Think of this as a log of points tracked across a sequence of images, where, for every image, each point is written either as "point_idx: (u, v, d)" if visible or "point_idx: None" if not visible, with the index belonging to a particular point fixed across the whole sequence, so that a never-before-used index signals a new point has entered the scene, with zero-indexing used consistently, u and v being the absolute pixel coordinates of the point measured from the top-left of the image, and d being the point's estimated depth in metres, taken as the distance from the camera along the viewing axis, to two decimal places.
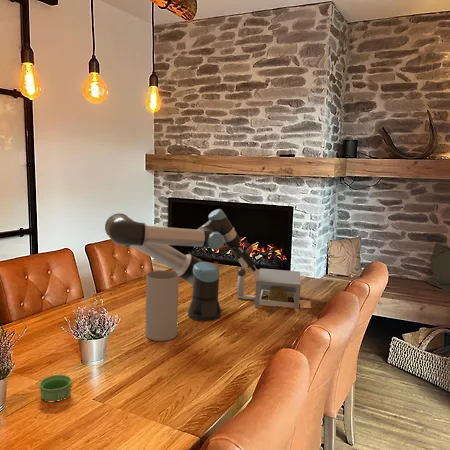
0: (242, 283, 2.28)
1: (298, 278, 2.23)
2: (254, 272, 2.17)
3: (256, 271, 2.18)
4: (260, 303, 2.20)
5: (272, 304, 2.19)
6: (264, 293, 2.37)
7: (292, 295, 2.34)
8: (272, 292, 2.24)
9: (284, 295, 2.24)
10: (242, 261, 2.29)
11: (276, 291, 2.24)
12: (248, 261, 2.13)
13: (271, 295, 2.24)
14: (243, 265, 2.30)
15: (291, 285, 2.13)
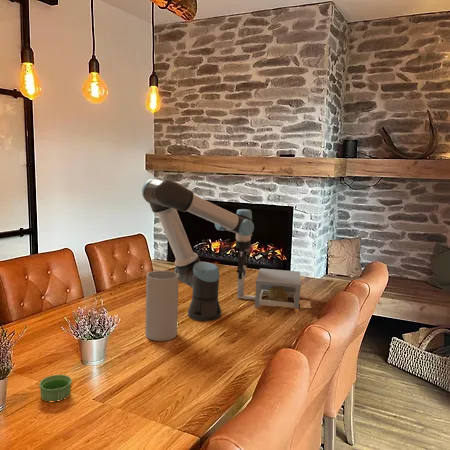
0: None
1: (298, 278, 2.23)
2: (239, 280, 2.22)
3: (241, 281, 2.22)
4: (260, 303, 2.20)
5: (272, 304, 2.19)
6: (264, 293, 2.37)
7: (292, 295, 2.34)
8: (272, 292, 2.24)
9: (284, 295, 2.24)
10: None
11: (276, 291, 2.24)
12: (239, 266, 2.19)
13: (271, 295, 2.24)
14: None
15: (291, 285, 2.13)
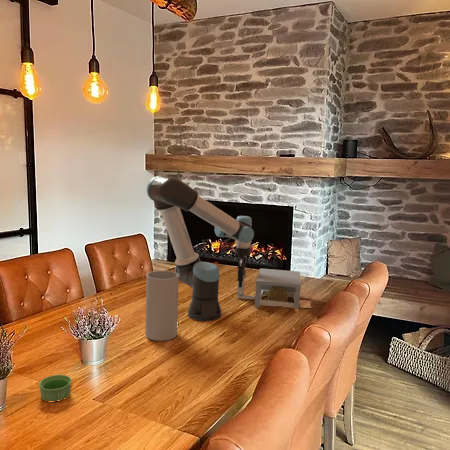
0: None
1: (298, 278, 2.23)
2: (239, 288, 2.27)
3: (241, 289, 2.27)
4: (260, 303, 2.20)
5: (272, 304, 2.19)
6: (264, 293, 2.37)
7: (292, 295, 2.34)
8: (272, 292, 2.24)
9: (284, 295, 2.24)
10: None
11: (276, 291, 2.24)
12: (239, 275, 2.23)
13: (271, 295, 2.24)
14: None
15: (291, 285, 2.13)
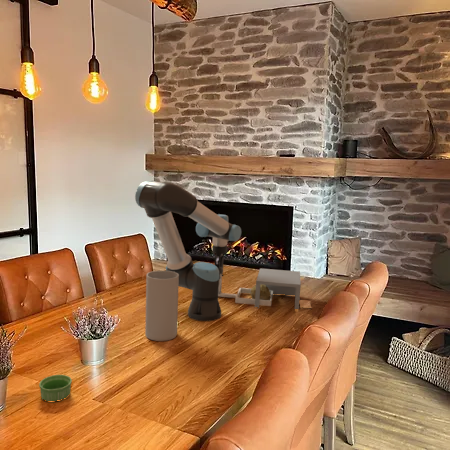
0: None
1: (298, 278, 2.23)
2: None
3: (218, 287, 2.29)
4: (236, 301, 2.22)
5: (248, 302, 2.21)
6: (242, 291, 2.38)
7: (270, 293, 2.36)
8: (254, 290, 2.26)
9: (266, 293, 2.25)
10: None
11: None
12: None
13: (253, 293, 2.26)
14: None
15: (291, 285, 2.13)
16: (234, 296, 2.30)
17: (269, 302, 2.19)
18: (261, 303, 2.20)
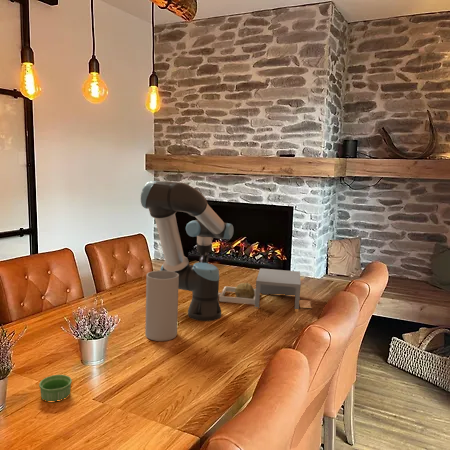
0: None
1: (298, 278, 2.23)
2: None
3: None
4: (220, 299, 2.23)
5: (232, 300, 2.22)
6: (227, 290, 2.39)
7: (254, 292, 2.37)
8: (238, 289, 2.27)
9: (250, 292, 2.26)
10: None
11: (242, 288, 2.26)
12: None
13: (237, 292, 2.27)
14: None
15: (291, 285, 2.13)
16: (218, 295, 2.31)
17: (253, 300, 2.21)
18: (245, 301, 2.21)
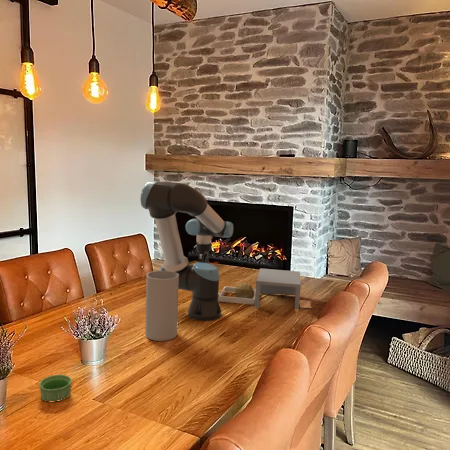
0: None
1: (298, 278, 2.23)
2: None
3: None
4: (220, 299, 2.23)
5: (231, 300, 2.22)
6: (226, 290, 2.39)
7: (254, 292, 2.37)
8: (238, 289, 2.27)
9: (250, 292, 2.26)
10: None
11: (242, 288, 2.26)
12: None
13: (237, 292, 2.27)
14: None
15: (291, 285, 2.13)
16: (218, 295, 2.31)
17: (252, 300, 2.21)
18: (244, 301, 2.21)
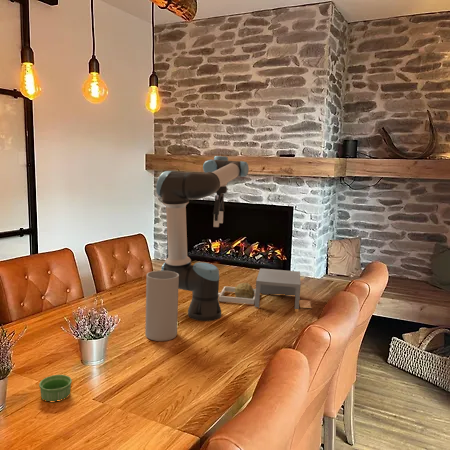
0: None
1: (298, 278, 2.23)
2: (215, 222, 2.36)
3: (217, 223, 2.35)
4: (220, 299, 2.23)
5: (231, 300, 2.22)
6: (226, 290, 2.39)
7: (254, 292, 2.37)
8: (238, 289, 2.27)
9: (250, 292, 2.26)
10: (220, 215, 2.48)
11: (242, 288, 2.26)
12: (215, 208, 2.32)
13: (237, 292, 2.27)
14: (219, 219, 2.49)
15: (291, 285, 2.13)
16: (218, 295, 2.31)
17: (252, 300, 2.21)
18: (244, 301, 2.21)
